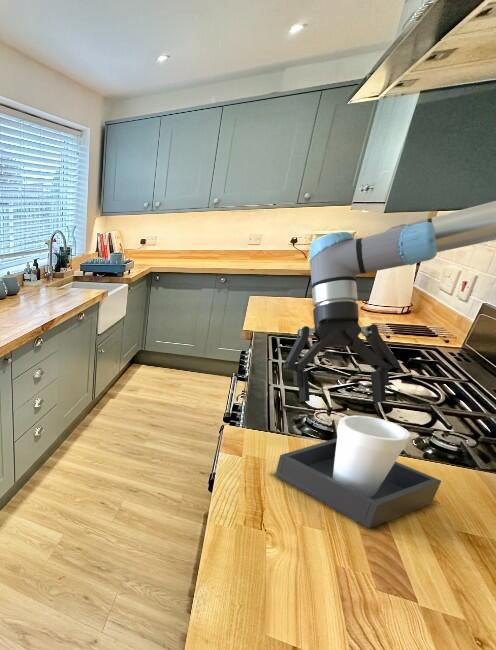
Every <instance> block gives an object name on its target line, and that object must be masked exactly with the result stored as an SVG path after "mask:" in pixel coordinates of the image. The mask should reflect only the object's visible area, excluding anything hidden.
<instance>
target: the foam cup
mask: <svg viewBox="0 0 496 650" xmlns="http://www.w3.org/2000/svg"><path fill="white" fill-rule="evenodd" d="M336 433H337V435H336V436H337V437H336V438H337V444H336V453H335V462H334V470H333V479H335V480H337V481H339V482H341V483H343V484H345V485H346V486H348V487H350V488H352V489H354V490H356V491H358V492H360V493H362V494H364V495H366V496H368V497H373V496H374V495H375V494H376V492H377V491H378V489H379V488H380V486H381V484H382V483H383V481H384V479H385V478H386V476H387V474H388V473H389V471H390V470H391V468H392V466H393V465H394V463H395V461H396V462H397V460H398V458H399V457H400V455H401V454H402V452H403V451H404V450H405V449H406V448H407V446H408V443H409V440H410V439H411V433H410V432H409V431H408V429H406V428H404V427H403V426H401V425H400V424H398V423H394V422H392V421H389V420H386V419H383V418H378V417H373V416H368V415H367V416H366V415H357V414H355V415H353V414H352V415H346V416H343V417H341V418H340V419H339V422H338V424H337V427H336Z"/></svg>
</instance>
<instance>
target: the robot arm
mask: <svg viewBox="0 0 496 650" xmlns="http://www.w3.org/2000/svg"><path fill="white" fill-rule="evenodd" d="M353 236H354V235H353V234H352V233H350V232H348V231H339V232H331V233H327V234H325V235H322V236H319V237H318V238H316V239H314V240H313V241H312V242H311V244H310V247H309V252H310V253H309V268H310V281H311V297H312V307H314V308H313V310H312V313H313V316H312V317H313V324H314V327H313V328H312V327H309V326H307V325H305V326H303V327H301V328H298V330H297V336H296V340H295V342H294V344H293V345H292V347H291V349H290V351H289V353H288V355H287V357H286V359H285V361H284V363H283V365H282V368H283V369H284V370H288V371H290V372H291V373H292V375H293V385H294V387H298V398H299V399H298V400H299V403H303V402H310V401H311V397H310V382H309V381H310V380H309V370H304V369H305V368H306V367H307V366H308V365H309V364H310V363H311V362H312V361H313V360H314V359H315V358H316V356H318V354H319V353H320V352H321V351H322V350H323V349H324V348H326V349H331V348H346V347H347V348H348V349H349V350H352V351H353V352H354V353H355V354H357V356H359V358H361V359H362V360H363V361H364V362H365V363H366V364H368V365H369V366H370V367H371V368H372V369H373V370H375V371H370V379H371V380H370V381H371V393H372V403H384V402H387V395H386V394H387V393H386V387H388V386H389V384H390V378H389V371H390V370H391V369H394V368H399V366H400V361H399V360H398V359H397V357H396V356H395V355H394V353H393V352H392V350H391V349H390V347H389V345H388V344H387V343H386V342H385V340H384V339H383V337H382V336H381V335H380V331H379V327H378V325H377V324H376V323H373V324H370V325H365V326H361V325H360V324H359V318H360V316H359V315H360V314H359V304H358V303H357V301H358V299H359V298H358V288H357V275H362V274H367V273H372V272H377V271H382V270H389V269H393V268H399V267H404V266H414V265H416V264H419V263H423V262H428V261H431V260H433V259H434V258H436V256H437V255H438V253H441V252H445V251H450V250H454V249H461V248H464V247H468V246H474V245H479V244H483V243H489V242H492V241H496V200H494V201H489V202H486V203H482V204H479V205H475V206H471V207H468V208H463V209H459V210H456V211H452V212H448V213H445V214H439V215H437V216H432V217H431V218H430V217H429V218H425V219H421V220H418V221H417V220H416V221H414V222H409V223H403V224H399V225H395V226H392V227H390V228H388V229H386V230H385V231H382V232H380V233H376V234H372V235H369V236H365V237H360V238H354V237H353ZM360 334H361V336H362V337H365V340H366V341H367V343H368V345H369V347H368V346H367V345H366V343H365V341H364V340H363V339H362V338H360V336H359V335H360ZM312 336H314V338H316V339H317V340H316V341H315V342H314V343H313V344H312V345H311V347H310V348H309V349H308V350H307V352H306V353H305V354H304V355H303V356H302V357H301V358H300V359H299V357H300V355H301V354H302V351H303V349H304V347H305V346H306V344H307V342H308V340H309V338H310V337H312ZM298 359H299V360H298ZM297 361H298V362H297Z"/></svg>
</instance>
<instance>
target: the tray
mask: <svg viewBox="0 0 496 650" xmlns="http://www.w3.org/2000/svg"><path fill="white" fill-rule="evenodd" d="M336 444H337V437H335V438H332V439H329V440H327V441H322V442H319V443H316V444H311V445H309V446H306V447H303V448H299V449H296V450H293V451H289V452H286V453H282V454H280V455H279V458H278V462H277V466H276V470H275V474H274V476H275V477H276V478H278V479H280V480H282V481H284V482H286V483H287V484H289V485H291V486H293V487H295V488H296V489H298V490H300V491H302V492H303V493H305V494H307V495H309V496H311V497H313V498H314V499H316V500H318V501H320V502H322V503H323V504H324V505H327V506H328V507H330V508H332V509H334V510H336V511H337V512H339V513H341V514H343V515H345V516H346V517H348V518H350V519H351V520H353V521H355V522H356V523H359V524H360V525H363V526H364V527H366V528H367V529H372V528H374V527H377V526H380V525H382V524H384V523H387V522H389V521H392V520H394V519H397V518H399V517H401V516H404V515H407V514H409V513H412V512H414V511H416V510H419V509H421V508H424V507H425V506H429V505H431V504H433V501H434V499H435V497H436V495H437V492H438V490H439V488H440V486H441V483H442V480H441V479H438V478H436V477H434V476H432V475H429V474H427V473H424V472H422V471H420V470H417V469H414V468H412V467H410V466H407V465H405V464H403V463H400V462H398V461H397V460H396V461H395V463H394V465H393V466H392V468H391V470H390V471H389V473H388V474H387V476H386V478H385V479H384V481H383V483H382V484H381V486H380V488H379V489H378V491H377V492H376V494H375V495H374V496H373V497H368V496H366V495H364V494H362V493H360V492H358V491H356V490H354V489H352V488H350V487H348V486H346V485H345V484H343V483H341V482H339V481H337V480H335V479H333V470H334V462H335V453H336Z"/></svg>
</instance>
